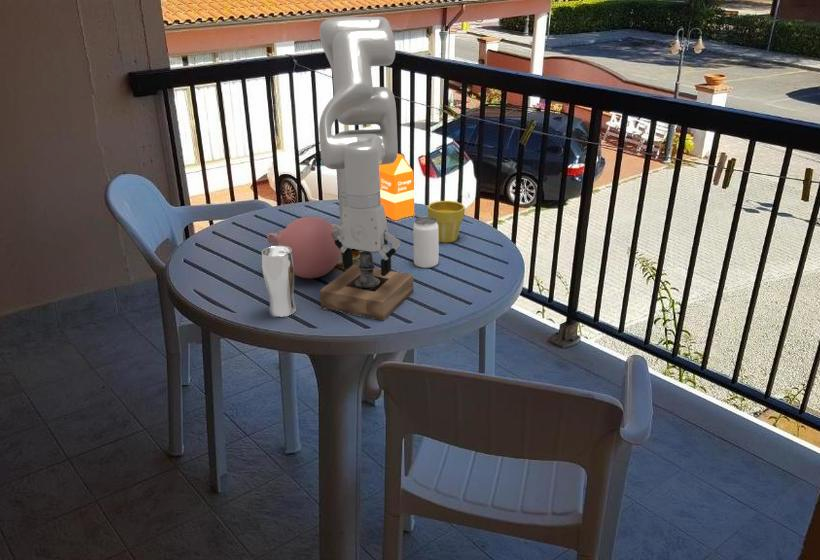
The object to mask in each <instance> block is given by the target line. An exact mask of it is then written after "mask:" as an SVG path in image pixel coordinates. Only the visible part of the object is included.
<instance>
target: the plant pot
mask: <svg viewBox="0 0 820 560" xmlns="http://www.w3.org/2000/svg"><path fill="white" fill-rule="evenodd" d="M465 211H466V209H465V205H464V204H463V203H461V202H457V201H453V200H438V201H434V202H430V203H429V204H428V206H427V217H432V218H435V219H436V220H437V224H438V232H439V243H454V242H456V241H457V240H458V236H459V232H460V228H461V225H462V221H463V220H464V219H465Z"/></svg>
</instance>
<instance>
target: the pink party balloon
mask: <svg viewBox="0 0 820 560" xmlns="http://www.w3.org/2000/svg"><path fill="white" fill-rule="evenodd" d="M331 224H332V223H330V222H328V221H327V220H325V219H323V218H320V217H316V216H304V217H300V218H297V219H295V220H293V221H292V222H290V223H289V224H288V225H287V226H285V228H284V229H280V230H278V231H276V232H270V233H267V234H266V238H267V242H268V243H269V244H272V246H287V247H290V248H291V249H292V254H293V260H294V267H295V276H298V277H299V278H302V279H317V278H321V277H323V276H326V275H327V274H329V272H331V271H332V270H333V269H334V268H335V267H336V266H337V264H338V262H339V259H340V257H341V255H342V253H341V252H340V249H339V248H338V247H337V246H336V244H335V241H334V240H333V238H332V236H331V232H333V231H334V230H335V229H334V227H333V226H332V225H331Z"/></svg>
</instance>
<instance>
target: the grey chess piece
mask: <svg viewBox="0 0 820 560" xmlns="http://www.w3.org/2000/svg"><path fill="white" fill-rule="evenodd" d="M373 260H374V259H373V252H367V251H362V252H360V253H359V264H360V265H358V266H359V269H360V278H359V279H357V280H356V281H355V285H356V287H357V289H363V290H368V291H374V292H375V291H376V290H377V289H378V286H379V283H380V280H379V279H378V278H375V277H374V274H373V268H375V265H374V263H373Z"/></svg>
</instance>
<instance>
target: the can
mask: <svg viewBox="0 0 820 560" xmlns="http://www.w3.org/2000/svg"><path fill="white" fill-rule="evenodd" d="M412 228H413V229H412V230H413V231H412V232H413V264H414V265H415V266H416V267H418V268H421V269H431V268H434V267H436V266H438V264H439V257H440V256H439V244H440V242H439V232H438V224H437V220H436V219H435V218H432V217H428V216H420V217H417V218H416V219H414V224H413V227H412Z"/></svg>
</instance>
